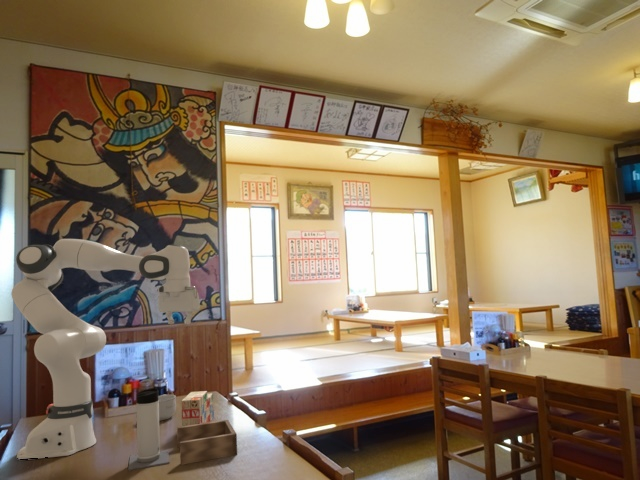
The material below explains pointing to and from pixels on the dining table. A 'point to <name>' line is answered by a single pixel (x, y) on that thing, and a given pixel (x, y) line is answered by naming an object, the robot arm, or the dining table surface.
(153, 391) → the travel mug
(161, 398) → the teacup
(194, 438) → the walnut box
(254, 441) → the dining table surface
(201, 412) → the stack of blocks
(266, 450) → the dining table surface
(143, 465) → the grey square plate
